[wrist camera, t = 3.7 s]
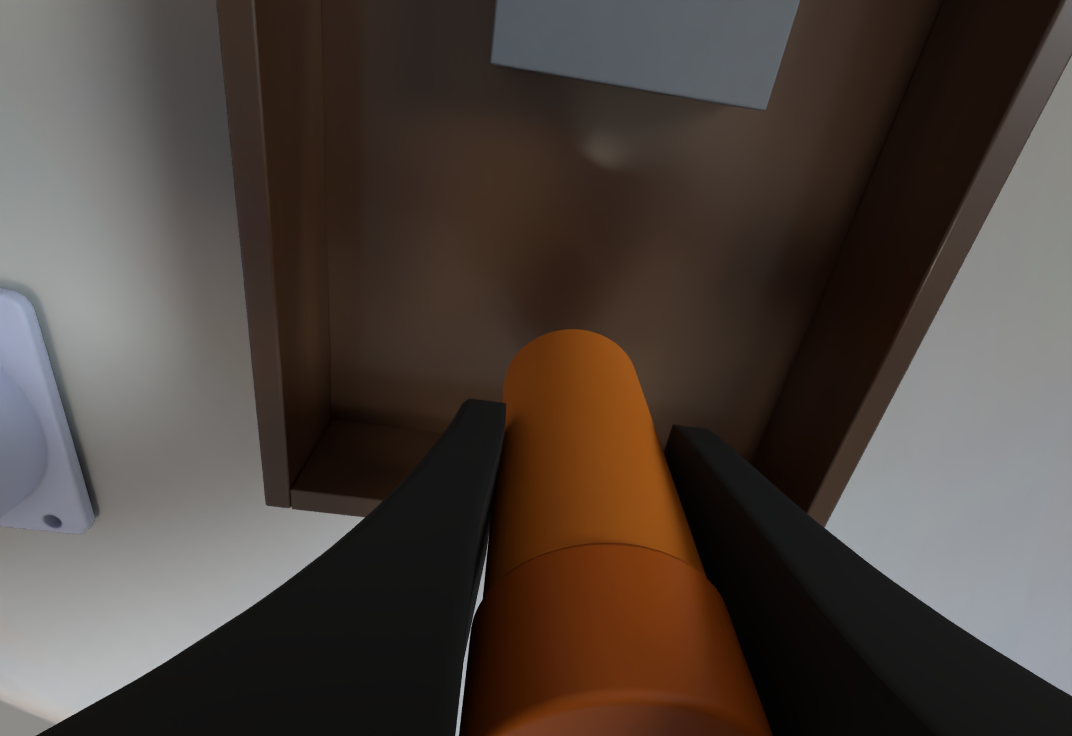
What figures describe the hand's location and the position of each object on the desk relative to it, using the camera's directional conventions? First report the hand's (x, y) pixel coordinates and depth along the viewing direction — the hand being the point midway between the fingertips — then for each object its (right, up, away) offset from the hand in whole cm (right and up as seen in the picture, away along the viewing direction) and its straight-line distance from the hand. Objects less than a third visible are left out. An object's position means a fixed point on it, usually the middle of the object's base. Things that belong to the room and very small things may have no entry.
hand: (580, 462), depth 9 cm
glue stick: (0, +1, +2) cm, 2 cm away
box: (+1, +6, +4) cm, 7 cm away
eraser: (+1, +9, +1) cm, 9 cm away
